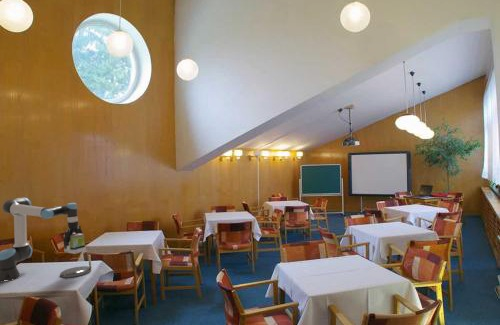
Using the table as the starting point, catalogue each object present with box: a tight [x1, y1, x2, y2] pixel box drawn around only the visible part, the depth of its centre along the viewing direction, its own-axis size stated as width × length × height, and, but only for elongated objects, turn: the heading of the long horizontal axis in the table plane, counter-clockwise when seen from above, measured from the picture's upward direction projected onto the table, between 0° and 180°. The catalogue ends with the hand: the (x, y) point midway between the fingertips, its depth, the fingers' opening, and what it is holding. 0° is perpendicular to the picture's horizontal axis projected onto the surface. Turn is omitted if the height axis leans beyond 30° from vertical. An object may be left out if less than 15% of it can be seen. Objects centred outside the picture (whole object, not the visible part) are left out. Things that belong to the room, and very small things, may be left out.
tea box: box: [63, 232, 86, 255], centre depth 273 cm, size 15×10×15 cm, turn 58°
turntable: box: [59, 254, 92, 279], centre depth 274 cm, size 23×23×13 cm
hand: (74, 247), depth 273 cm, fingers closed on tea box, 11 cm apart
